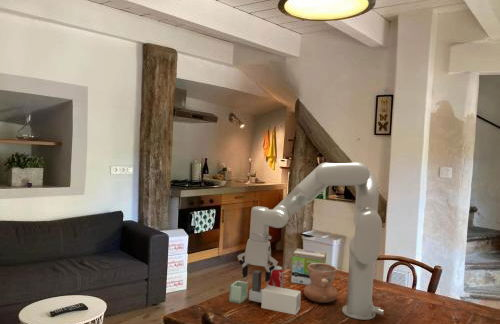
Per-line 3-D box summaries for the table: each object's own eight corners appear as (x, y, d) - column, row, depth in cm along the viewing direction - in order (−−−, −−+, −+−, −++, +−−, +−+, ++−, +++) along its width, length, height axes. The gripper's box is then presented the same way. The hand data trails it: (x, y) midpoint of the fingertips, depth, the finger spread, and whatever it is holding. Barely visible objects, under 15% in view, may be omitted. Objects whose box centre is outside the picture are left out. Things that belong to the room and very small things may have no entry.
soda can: (276, 299, 170) (278, 270, 170) (263, 294, 175) (264, 267, 174) (285, 294, 176) (287, 267, 175) (272, 290, 180) (273, 264, 180)
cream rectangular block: (300, 308, 161) (301, 291, 161) (295, 314, 155) (296, 296, 154) (267, 301, 166) (268, 285, 166) (261, 307, 160) (262, 290, 160)
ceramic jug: (341, 308, 164) (343, 273, 163) (305, 306, 164) (307, 271, 163) (333, 292, 182) (335, 261, 181) (301, 290, 182) (302, 259, 181)
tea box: (290, 283, 191) (292, 252, 191) (294, 277, 201) (296, 247, 201) (322, 288, 187) (324, 256, 187) (324, 281, 197) (326, 251, 196)
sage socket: (247, 297, 170) (248, 282, 170) (240, 303, 163) (241, 287, 163) (236, 295, 172) (237, 280, 172) (229, 301, 165) (229, 285, 165)
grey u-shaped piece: (292, 304, 161) (293, 276, 160) (289, 308, 157) (290, 279, 157) (252, 296, 167) (253, 269, 167) (248, 300, 163) (250, 272, 163)
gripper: (281, 238, 164) (279, 280, 165) (242, 232, 170) (240, 272, 171) (276, 242, 157) (273, 285, 158) (235, 235, 163) (233, 277, 164)
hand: (256, 278), depth 164 cm, fingers open, 9 cm apart
